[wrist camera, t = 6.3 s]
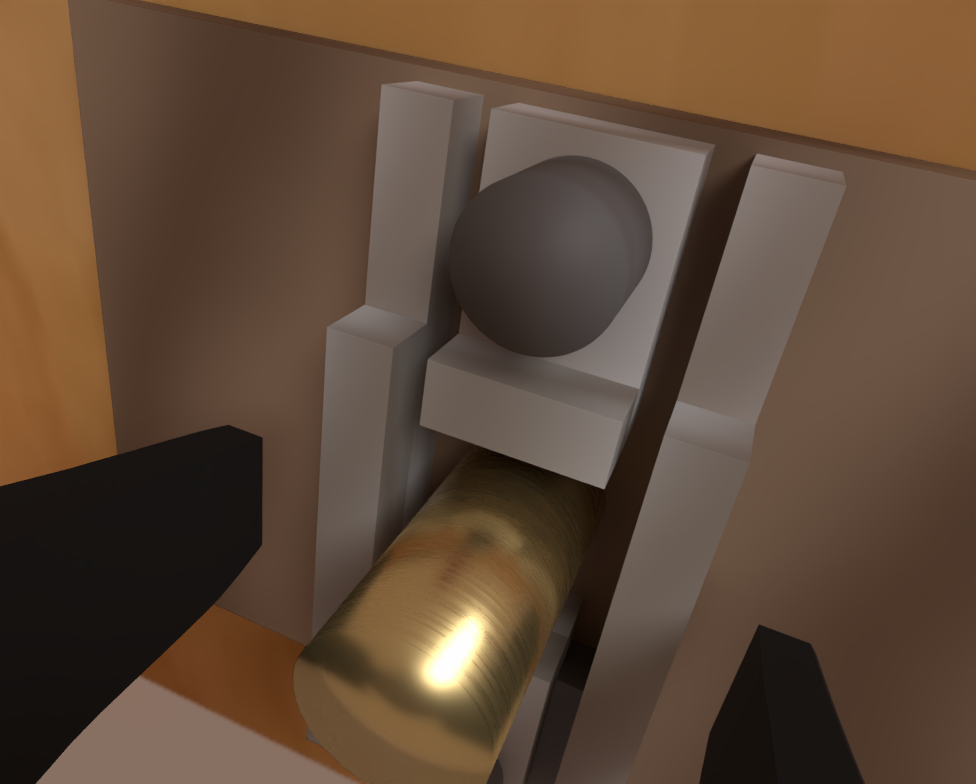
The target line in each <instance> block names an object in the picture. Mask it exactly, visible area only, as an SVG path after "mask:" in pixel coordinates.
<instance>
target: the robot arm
mask: <svg viewBox="0 0 976 784" xmlns="http://www.w3.org/2000/svg"><path fill="white" fill-rule="evenodd" d="M262 493H263V437H260V436H257V435H255V434H252V433H249V432H247V431H244V430H241V429H239V428H236V427H233V426H231V425H225V426H220V427H216V428H211V429H207V430H203V431H199V432H196V433H192V434H188V435H184V436H181V437H177V438H174V439H170V440H167V441H163V442H160V443H156V444H153V445H150V446H146V447H143V448H139V449H136V450H133V451H129V452H126V453H122V454H119V455H115V456H112V457H108V458H105V459H101V460H98V461H94V462H91V463H88V464H84V465H81V466H77V467H74V468H70V469H66V470H62V471H59V472H55V473H51V474H47V475H43V476H39V477H35V478H31V479H27V480H23V481H20V482H16V483H12V484H8V485H4V486H0V784H36V782H37V781H38V780H39V779H40V778H41V777H42V776H43V774H44V773H45V772H46V771H47V770H48V769H49V768H50V767H51V765H52V764H53V763H54V762H55V761H56V760H57V759H58V757H59V756H60V755H61V754H62V753H63V752H64V750H65V749H66V748H67V747H68V746H69V745H70V744H71V743H72V741H73V740H74V739H75V738H76V737H77V736H78V735H79V734H80V733H81V732H82V731H83V730H84V729H85V728H86V727H87V726H88V725H89V724H90V723H91V722H92V721H93V720H94V719H95V718H96V717H97V716H98V715H99V714H100V713H101V712H102V711H103V710H104V709H105V708H106V707H107V706H108V705H109V704H110V703H111V702H112V701H113V700H114V699H115V698H117V697H118V696H119V695H120V694H121V693H122V692H123V691H124V690H125V689H126V688H127V687H128V686H129V685H130V684H131V683H132V682H133V681H134V680H135V679H137V678H138V677H139V676H140V675H141V674H142V673H143V672H144V671H145V670H146V669H147V668H148V667H149V666H150V665H151V664H152V663H153V662H154V661H155V660H156V659H158V658H159V657H160V656H161V655H162V654H163V653H164V652H165V651H166V650H167V649H168V648H169V647H170V646H171V645H172V644H173V643H174V642H175V641H176V640H177V639H179V638H180V637H181V636H182V635H183V634H184V633H185V632H186V631H187V630H188V629H189V628H190V627H191V626H192V625H193V624H194V623H195V622H196V621H197V620H198V619H199V618H200V617H201V616H202V615H203V614H204V613H205V612H206V611H207V610H208V609H209V608H210V607H211V606H212V605H213V604H214V603H215V602H216V601H217V600H218V599H219V598H220V597H221V596H222V595H223V594H224V592H225V591H226V590H227V589H228V588H229V586H230V585H231V584H232V583H233V582H234V580H235V579H236V578H237V577H238V576H239V574H240V573H241V572H242V570H243V569H244V568H245V567H246V565H247V564H248V563H249V561H250V560H251V559H252V557H253V556H254V555H255V554H256V552H257V551H258V550H259V548H260V547H261V546H262ZM699 784H865V782H864V780H863V778H862V775H861V773H860V770H859V768H858V765H857V763H856V761H855V758H854V756H853V753H852V751H851V748H850V745H849V743H848V740H847V738H846V735H845V732H844V730H843V727H842V725H841V722H840V719H839V717H838V714H837V711H836V709H835V706H834V703H833V701H832V698H831V695H830V692H829V689H828V687H827V684H826V681H825V678H824V675H823V672H822V669H821V667H820V664H819V661H818V658H817V655H816V653H815V651H814V649H813V647H812V645H811V644H810V643H808V642H805V641H802V640H800V639H797V638H794V637H792V636H789V635H786V634H784V633H781V632H778V631H776V630H773V629H770V628H768V627H765V626H762V625H760V624H759V625H758V627H757V629H756V632H755V634H754V636H753V638H752V640H751V643H750V645H749V647H748V649H747V651H746V654H745V656H744V658H743V660H742V662H741V665H740V667H739V669H738V671H737V673H736V676H735V678H734V680H733V682H732V684H731V687H730V689H729V691H728V693H727V695H726V698H725V700H724V702H723V704H722V706H721V709H720V711H719V713H718V715H717V717H716V720H715V722H714V724H713V726H712V728H711V731H710V733H709V737H708V742H707V747H706V752H705V757H704V762H703V767H702V771H701V776H700V782H699Z"/></svg>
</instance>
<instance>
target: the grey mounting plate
mask: <svg viewBox="0 0 976 784" xmlns="http://www.w3.org/2000/svg"><path fill="white" fill-rule="evenodd" d="M68 7H69V16H70V25H71V34H72V43H73V52H74V61H75V70H76V79H77V88H78V98H79V107H80V116H81V125H82V134H83V143H84V152H85V161H86V170H87V179H88V189H89V198H90V207H91V216H92V225H93V234H94V243H95V252H96V261H97V270H98V279H99V289H100V298H101V307H102V316H103V325H104V334H105V343H106V352H107V361H108V370H109V379H110V389H111V398H112V407H113V416H114V425H115V434H116V443H117V452H118V455H119V454H122V453H126V452H129V451H133V450H136V449H139V448H143V447H146V446H150V445H153V444H156V443H160V442H163V441H167V440H170V439H174V438H177V437H181V436H184V435H188V434H192V433H196V432H199V431H203V430H207V429H211V428H216V427H220V426H225V425H231V426H233V427H236V428H239V429H241V430H244V431H247V432H249V433H252V434H255V435H257V436H260V437H263V493H262V546H261V547H260V548H259V550H258V551H257V552H256V554H255V555H254V556H253V557H252V559H251V560H250V561H249V563H248V564H247V565H246V567H245V568H244V569H243V570H242V572H241V573H240V574H239V576H238V577H237V578H236V579H235V580H234V582H233V583H232V584H231V585H230V586H229V588H228V589H227V590H226V591H225V592H224V594H223V595H222V596H221V597H220V598H219V599H218V600H217V601H216V602H215V603H214V604H215V605H217V606H219V607H221V608H224V609H226V610H228V611H230V612H232V613H235V614H237V615H239V616H241V617H243V618H246V619H248V620H250V621H252V622H254V623H257V624H259V625H261V626H263V627H265V628H268V629H270V630H272V631H274V632H276V633H279V634H281V635H283V636H285V637H287V638H289V639H292V640H294V641H296V642H298V643H300V644H303V645H305V646H307V645H308V643H309V642H310V641H311V640H312V639H313V637H314V636H315V635H316V634H317V633H318V631H319V630H320V629H321V628H322V627H323V625H324V624H325V623H326V622H327V621H328V619H329V618H330V617H331V616H332V615H333V613H334V612H335V611H336V610H337V609H338V607H339V606H340V605H341V604H342V603H343V601H344V600H345V599H346V598H347V597H348V595H349V594H350V593H351V592H352V591H353V589H354V588H355V587H356V586H357V585H358V583H359V582H360V581H361V580H362V579H363V577H364V576H365V575H366V574H367V573H368V571H369V570H370V569H371V568H372V567H373V565H374V564H375V563H376V562H377V561H378V559H379V558H380V557H381V556H382V555H383V553H384V552H385V551H386V550H387V549H388V547H389V546H390V545H391V544H392V543H393V541H394V540H395V539H396V538H397V537H398V535H399V534H400V533H401V532H402V531H403V529H404V528H405V527H406V526H407V525H408V523H409V522H410V521H411V520H412V519H413V517H414V516H415V515H416V514H417V513H418V511H419V510H420V509H421V508H422V507H423V505H424V504H425V503H426V502H427V501H428V499H429V498H430V497H431V496H432V495H433V493H434V492H435V491H436V490H437V488H438V487H439V486H440V485H441V484H442V482H443V481H444V480H445V479H446V478H447V476H448V475H449V474H450V473H451V472H452V470H453V469H454V468H455V467H456V466H457V464H458V463H459V462H460V461H461V460H462V458H463V457H464V456H465V455H466V454H467V452H468V451H469V450H470V449H471V448H472V446H473V445H474V444H475V445H478V446H481V447H484V448H487V449H490V450H492V451H495V452H498V453H501V454H504V455H507V456H510V457H513V458H515V459H518V460H521V461H524V462H527V463H530V464H533V465H536V466H538V467H541V468H544V469H547V470H550V471H553V472H556V473H559V474H561V475H564V476H567V477H570V478H573V479H576V480H579V481H581V482H584V483H587V484H590V485H593V486H596V487H599V488H602V489H605V493H606V501H605V508H604V512H603V515H602V518H601V520H600V522H599V525H598V527H597V529H596V532H595V534H594V536H593V538H592V541H591V543H590V545H589V548H588V550H587V552H586V555H585V557H584V559H583V562H582V564H581V566H580V568H579V571H578V573H577V575H576V578H575V580H574V582H573V585H572V587H571V589H570V591H569V594H568V596H567V598H566V601H565V603H564V605H563V608H562V610H561V612H560V615H559V617H558V619H557V621H556V624H555V626H554V628H553V631H552V633H551V635H550V638H549V640H548V642H547V645H546V647H545V649H544V651H543V654H542V656H541V658H540V661H539V663H538V665H537V668H536V670H535V672H534V675H533V677H532V679H531V681H530V684H529V686H528V688H527V691H526V693H525V695H524V698H523V700H522V702H521V704H520V707H519V709H518V711H517V714H516V716H515V718H514V721H513V723H512V725H511V728H510V730H509V732H508V734H507V737H506V739H505V741H504V744H503V746H502V748H501V751H500V753H499V755H498V758H497V760H496V762H495V764H494V767H493V769H492V771H491V774H490V776H489V778H488V780H487V783H486V784H699V782H700V776H701V771H702V767H703V762H704V757H705V752H706V747H707V742H708V737H709V733H710V731H711V728H712V726H713V724H714V722H715V720H716V717H717V715H718V713H719V711H720V709H721V706H722V704H723V702H724V700H725V698H726V695H727V693H728V691H729V689H730V687H731V684H732V682H733V680H734V678H735V676H736V673H737V671H738V669H739V667H740V665H741V662H742V660H743V658H744V656H745V654H746V651H747V649H748V647H749V645H750V643H751V640H752V638H753V636H754V634H755V632H756V629H757V627H758V625H759V624H760V625H762V626H765V627H768V628H770V629H773V630H776V631H778V632H781V633H784V634H786V635H789V636H792V637H794V638H797V639H800V640H802V641H805V642H808V643H810V644H811V645H812V647H813V649H814V651H815V653H816V655H817V658H818V661H819V664H820V667H821V669H822V672H823V675H824V678H825V681H826V684H827V687H828V689H829V692H830V695H831V698H832V701H833V703H834V706H835V709H836V711H837V714H838V717H839V719H840V722H841V725H842V727H843V730H844V732H845V735H846V738H847V740H848V743H849V745H850V748H851V751H852V753H853V756H854V758H855V761H856V763H857V765H858V768H859V770H860V773H861V775H862V778H863V780H864V782H865V784H976V171H972V170H967V169H962V168H957V167H952V166H947V165H943V164H938V163H933V162H928V161H923V160H918V159H913V158H908V157H903V156H898V155H894V154H889V153H884V152H879V151H874V150H869V149H864V148H859V147H854V146H850V145H845V144H840V143H835V142H830V141H825V140H820V139H815V138H810V137H805V136H801V135H796V134H791V133H786V132H781V131H776V130H771V129H766V128H761V127H757V126H752V125H747V124H742V123H737V122H732V121H727V120H722V119H717V118H712V117H708V116H703V115H698V114H693V113H688V112H683V111H678V110H673V109H668V108H664V107H659V106H654V105H649V104H644V103H639V102H634V101H629V100H624V99H619V98H615V97H610V96H605V95H600V94H595V93H590V92H585V91H580V90H575V89H571V88H566V87H561V86H556V85H551V84H546V83H541V82H536V81H531V80H526V79H522V78H517V77H512V76H507V75H502V74H497V73H492V72H487V71H482V70H478V69H473V68H468V67H463V66H458V65H453V64H448V63H443V62H438V61H433V60H429V59H424V58H419V57H414V56H409V55H404V54H399V53H394V52H389V51H384V50H380V49H375V48H370V47H365V46H360V45H355V44H350V43H345V42H340V41H336V40H331V39H326V38H321V37H316V36H311V35H306V34H301V33H296V32H291V31H287V30H282V29H277V28H272V27H267V26H262V25H257V24H252V23H247V22H243V21H238V20H233V19H228V18H223V17H218V16H213V15H208V14H203V13H198V12H194V11H189V10H184V9H179V8H174V7H169V6H164V5H159V4H154V3H150V2H145V1H140V0H68ZM307 740H309V741H311V742H313V743H316V744H318V745H320V746H322V745H321V744H320V743H319V741H318V740H317V739H316V738H315V736H314V735H313V733H312V732H311V730H310V729H309V727H308V726H307ZM322 747H323V746H322Z"/></svg>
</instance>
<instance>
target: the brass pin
mask: <svg viewBox="0 0 976 784" xmlns="http://www.w3.org/2000/svg"><path fill="white" fill-rule="evenodd" d="M605 501H606V493H605V489H602V488H599V487H596V486H593V485H590V484H587V483H584V482H581V481H579V480H576V479H573V478H570V477H567V476H564V475H561V474H559V473H556V472H553V471H550V470H547V469H544V468H541V467H538V466H536V465H533V464H530V463H527V462H524V461H521V460H518V459H515V458H513V457H510V456H507V455H504V454H501V453H498V452H495V451H492V450H490V449H487V448H484V447H481V446H478V445H475V444H474V445H473V446H472V448H471V449H470V450H469V451H468V452H467V454H466V455H465V456H464V457H463V458H462V460H461V461H460V462H459V463H458V464H457V466H456V467H455V468H454V469H453V470H452V472H451V473H450V474H449V475H448V476H447V478H446V479H445V480H444V481H443V482H442V484H441V485H440V486H439V487H438V488H437V490H436V491H435V492H434V493H433V495H432V496H431V497H430V498H429V499H428V501H427V502H426V503H425V504H424V505H423V507H422V508H421V509H420V510H419V511H418V513H417V514H416V515H415V516H414V517H413V519H412V520H411V521H410V522H409V523H408V525H407V526H406V527H405V528H404V529H403V531H402V532H401V533H400V534H399V535H398V537H397V538H396V539H395V540H394V541H393V543H392V544H391V545H390V546H389V547H388V549H387V550H386V551H385V552H384V553H383V555H382V556H381V557H380V558H379V559H378V561H377V562H376V563H375V564H374V565H373V567H372V568H371V569H370V570H369V571H368V573H367V574H366V575H365V576H364V577H363V579H362V580H361V581H360V582H359V583H358V585H357V586H356V587H355V588H354V589H353V591H352V592H351V593H350V594H349V595H348V597H347V598H346V599H345V600H344V601H343V603H342V604H341V605H340V606H339V607H338V609H337V610H336V611H335V612H334V613H333V615H332V616H331V617H330V618H329V619H328V621H327V622H326V623H325V624H324V625H323V627H322V628H321V629H320V630H319V631H318V633H317V634H316V635H315V636H314V637H313V639H312V640H311V641H310V642H309V643H308V645H307V646H306V647H305V648H304V649H303V651H302V652H301V654H300V655H299V657H298V659H297V662H296V664H295V668H294V674H293V686H294V693H295V697H296V701H297V704H298V707H299V709H300V712H301V714H302V716H303V718H304V720H305V722H306V724H307V726H308V727H309V729H310V730H311V732H312V733H313V735H314V736H315V738H316V739H317V740H318V741H319V743H320V744H321V745H322V746H323V748H324V749H325V750H326V751H327V752H328V753H329V754H330V755H331V756H332V757H333V758H334V759H335V760H336V761H337V762H338V763H339V764H340V765H342V766H343V767H344V768H345V769H347V770H348V771H349V772H350V773H352V774H353V775H354V776H356V777H357V778H359V779H360V780H362V781H363V782H365V783H367V784H486V783H487V780H488V778H489V776H490V774H491V771H492V769H493V767H494V764H495V762H496V760H497V758H498V755H499V753H500V751H501V748H502V746H503V744H504V741H505V739H506V737H507V734H508V732H509V730H510V728H511V725H512V723H513V721H514V718H515V716H516V714H517V711H518V709H519V707H520V704H521V702H522V700H523V698H524V695H525V693H526V691H527V688H528V686H529V684H530V681H531V679H532V677H533V675H534V672H535V670H536V668H537V665H538V663H539V661H540V658H541V656H542V654H543V651H544V649H545V647H546V645H547V642H548V640H549V638H550V635H551V633H552V631H553V628H554V626H555V624H556V621H557V619H558V617H559V615H560V612H561V610H562V608H563V605H564V603H565V601H566V598H567V596H568V594H569V591H570V589H571V587H572V585H573V582H574V580H575V578H576V575H577V573H578V571H579V568H580V566H581V564H582V562H583V559H584V557H585V555H586V552H587V550H588V548H589V545H590V543H591V541H592V538H593V536H594V534H595V532H596V529H597V527H598V525H599V522H600V520H601V518H602V515H603V512H604V508H605Z"/></svg>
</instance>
